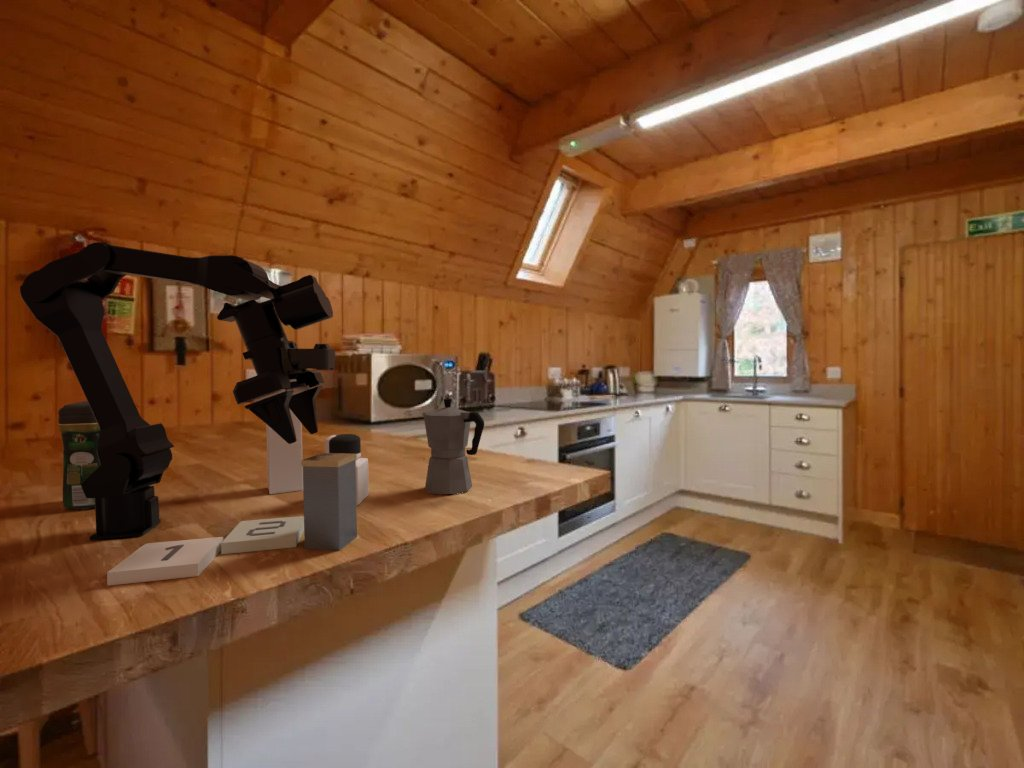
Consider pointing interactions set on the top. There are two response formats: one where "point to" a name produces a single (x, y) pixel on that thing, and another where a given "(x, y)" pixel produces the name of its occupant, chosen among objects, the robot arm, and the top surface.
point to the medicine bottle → (353, 446)
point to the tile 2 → (264, 535)
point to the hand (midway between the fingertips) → (304, 437)
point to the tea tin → (329, 500)
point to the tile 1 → (165, 561)
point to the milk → (284, 460)
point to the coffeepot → (450, 448)
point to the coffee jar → (78, 452)
